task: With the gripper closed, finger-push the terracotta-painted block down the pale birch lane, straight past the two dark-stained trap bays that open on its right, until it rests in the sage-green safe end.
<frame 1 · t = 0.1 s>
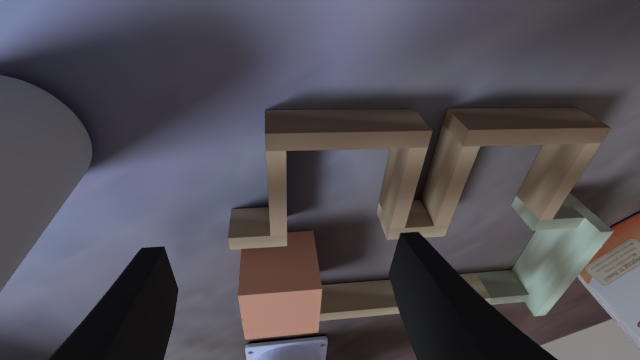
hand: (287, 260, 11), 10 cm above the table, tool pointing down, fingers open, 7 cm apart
beverage can: (30, 128, 17), on the table
trap lane: (399, 248, 27), on the table
block: (279, 255, 25), on the table
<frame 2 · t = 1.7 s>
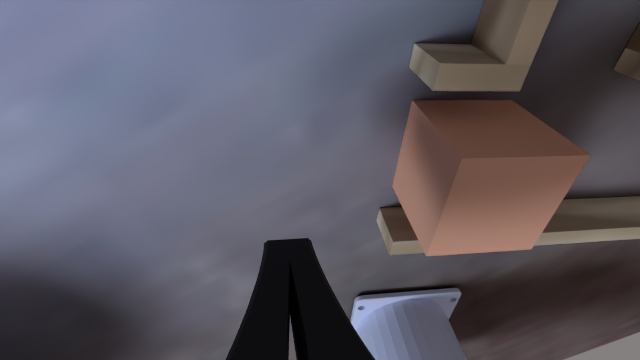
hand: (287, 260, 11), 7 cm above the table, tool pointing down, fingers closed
trap lane: (610, 143, 18), on the table
block: (447, 145, 17), on the table
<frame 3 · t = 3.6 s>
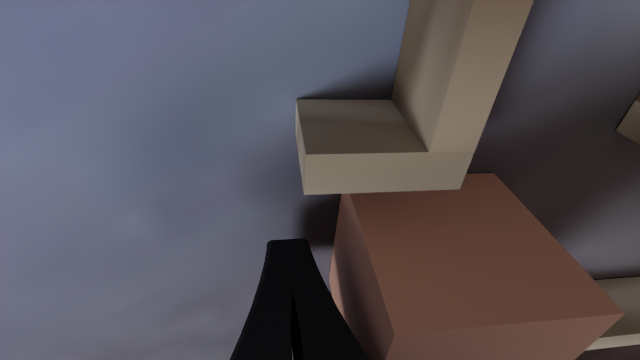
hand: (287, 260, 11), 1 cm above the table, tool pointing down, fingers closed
trap lane: (611, 220, 13), on the table
block: (403, 230, 12), on the table, touching gripper
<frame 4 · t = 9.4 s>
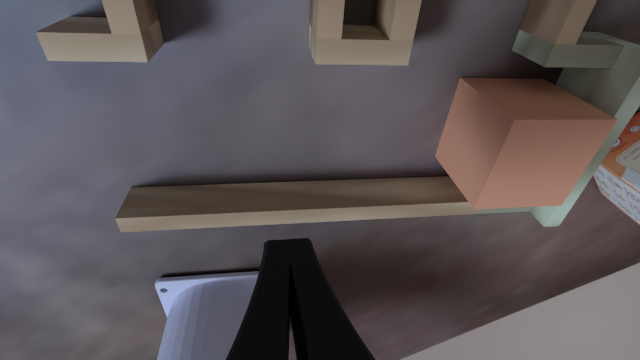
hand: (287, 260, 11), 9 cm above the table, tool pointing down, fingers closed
trap lane: (351, 122, 19), on the table
block: (485, 119, 20), on the table
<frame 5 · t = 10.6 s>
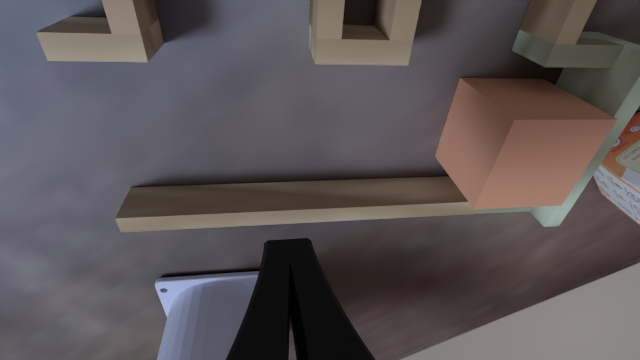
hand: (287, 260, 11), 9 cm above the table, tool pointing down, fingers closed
trap lane: (351, 122, 19), on the table
block: (485, 119, 20), on the table
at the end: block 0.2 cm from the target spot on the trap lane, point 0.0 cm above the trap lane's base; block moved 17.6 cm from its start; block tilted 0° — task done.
